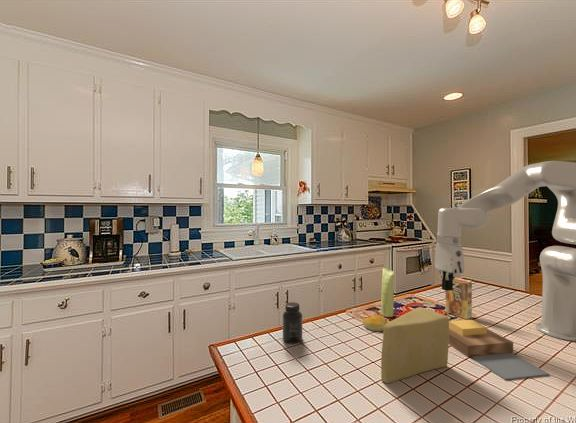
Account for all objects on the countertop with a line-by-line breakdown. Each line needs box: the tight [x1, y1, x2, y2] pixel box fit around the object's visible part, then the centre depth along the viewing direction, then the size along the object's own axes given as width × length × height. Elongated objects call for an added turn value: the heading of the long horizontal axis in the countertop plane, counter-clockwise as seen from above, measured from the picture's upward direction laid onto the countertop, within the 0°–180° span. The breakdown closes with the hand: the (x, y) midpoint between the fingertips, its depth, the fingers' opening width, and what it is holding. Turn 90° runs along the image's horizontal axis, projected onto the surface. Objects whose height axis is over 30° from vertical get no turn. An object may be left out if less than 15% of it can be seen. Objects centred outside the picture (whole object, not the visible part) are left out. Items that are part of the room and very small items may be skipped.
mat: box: [471, 352, 550, 381], centre depth 78 cm, size 14×11×1 cm
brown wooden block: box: [449, 328, 514, 358], centre depth 90 cm, size 16×14×4 cm
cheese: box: [380, 306, 450, 384], centre depth 75 cm, size 22×10×15 cm, turn 120°
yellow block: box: [449, 319, 488, 336], centre depth 92 cm, size 9×6×2 cm, turn 99°
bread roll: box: [362, 314, 388, 332], centre depth 103 cm, size 8×9×4 cm
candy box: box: [445, 277, 473, 320], centre depth 114 cm, size 9×4×15 cm, turn 33°
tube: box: [380, 267, 395, 318], centre depth 113 cm, size 6×5×20 cm
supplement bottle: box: [282, 301, 303, 344], centre depth 93 cm, size 7×7×12 cm
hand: (447, 289), depth 101 cm, fingers closed
